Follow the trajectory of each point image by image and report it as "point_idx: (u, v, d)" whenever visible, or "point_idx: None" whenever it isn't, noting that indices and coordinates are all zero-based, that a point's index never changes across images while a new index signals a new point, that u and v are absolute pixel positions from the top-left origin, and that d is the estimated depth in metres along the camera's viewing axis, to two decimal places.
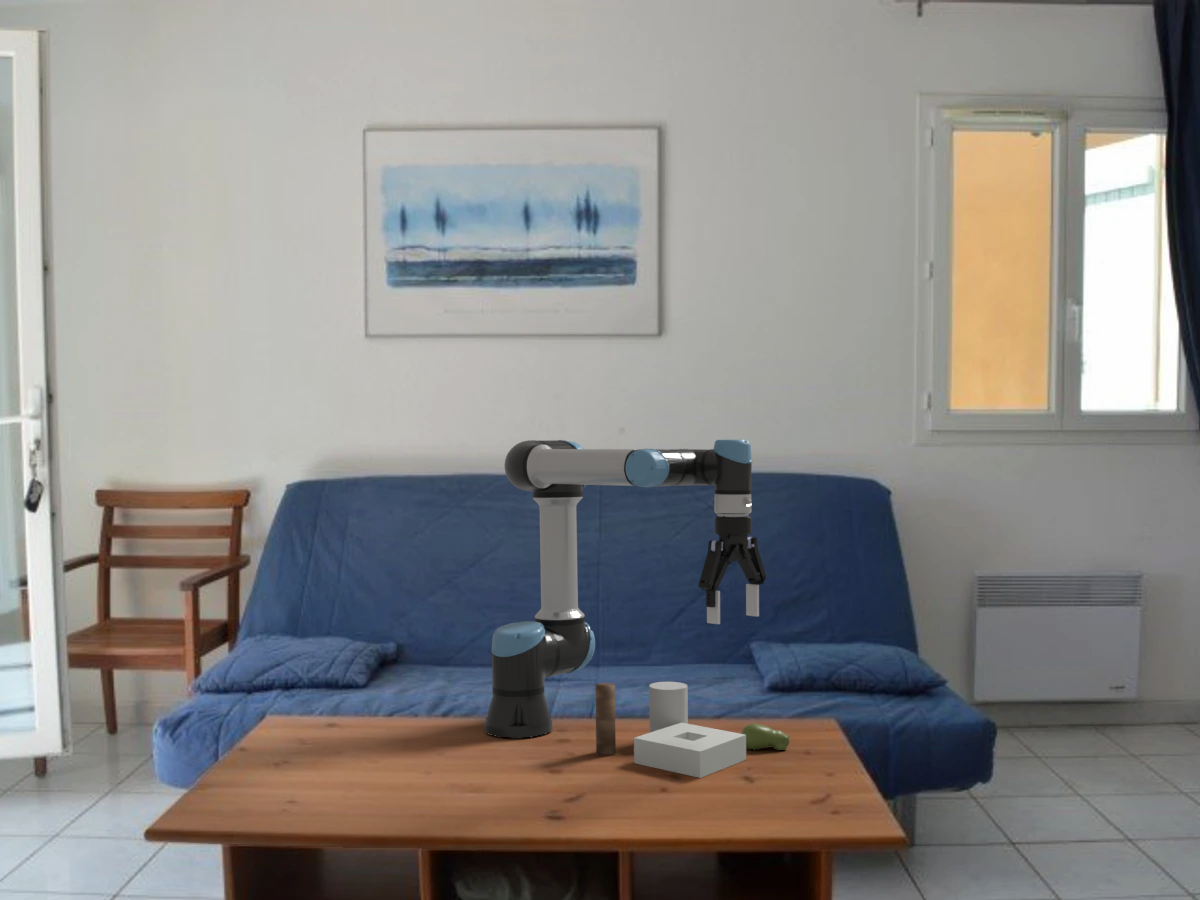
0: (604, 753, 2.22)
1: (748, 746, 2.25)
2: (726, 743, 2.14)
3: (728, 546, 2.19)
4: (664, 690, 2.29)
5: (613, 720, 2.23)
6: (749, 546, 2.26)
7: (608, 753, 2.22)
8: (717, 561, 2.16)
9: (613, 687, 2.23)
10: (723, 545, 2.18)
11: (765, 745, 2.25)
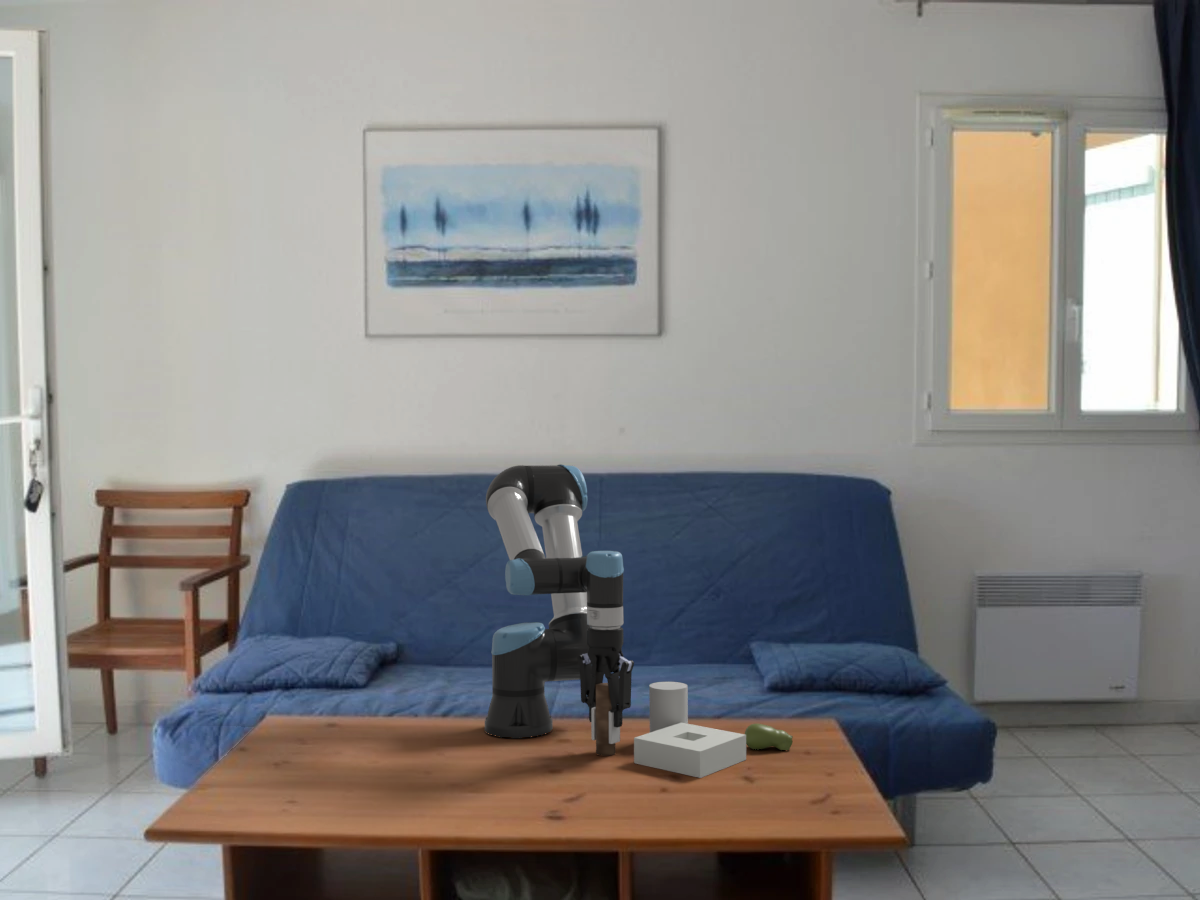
0: (604, 753, 2.22)
1: (751, 746, 2.25)
2: (726, 743, 2.14)
3: (590, 655, 2.26)
4: (664, 690, 2.29)
5: None
6: None
7: (608, 753, 2.22)
8: (582, 675, 2.27)
9: None
10: (588, 656, 2.27)
11: (768, 745, 2.25)
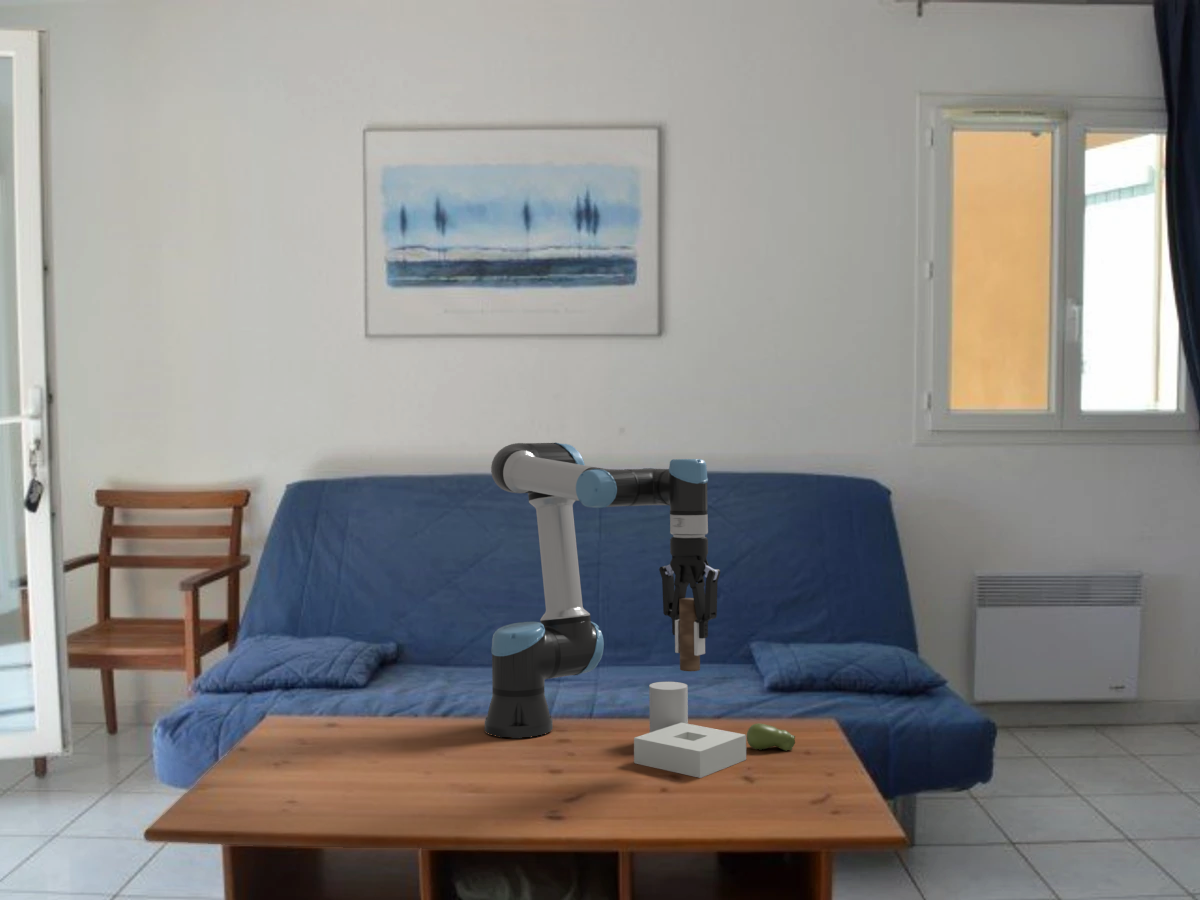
0: (689, 668, 2.16)
1: (754, 746, 2.25)
2: (726, 743, 2.14)
3: (673, 566, 2.19)
4: (664, 690, 2.29)
5: None
6: None
7: (693, 668, 2.16)
8: (665, 586, 2.20)
9: None
10: (671, 567, 2.20)
11: (771, 745, 2.25)
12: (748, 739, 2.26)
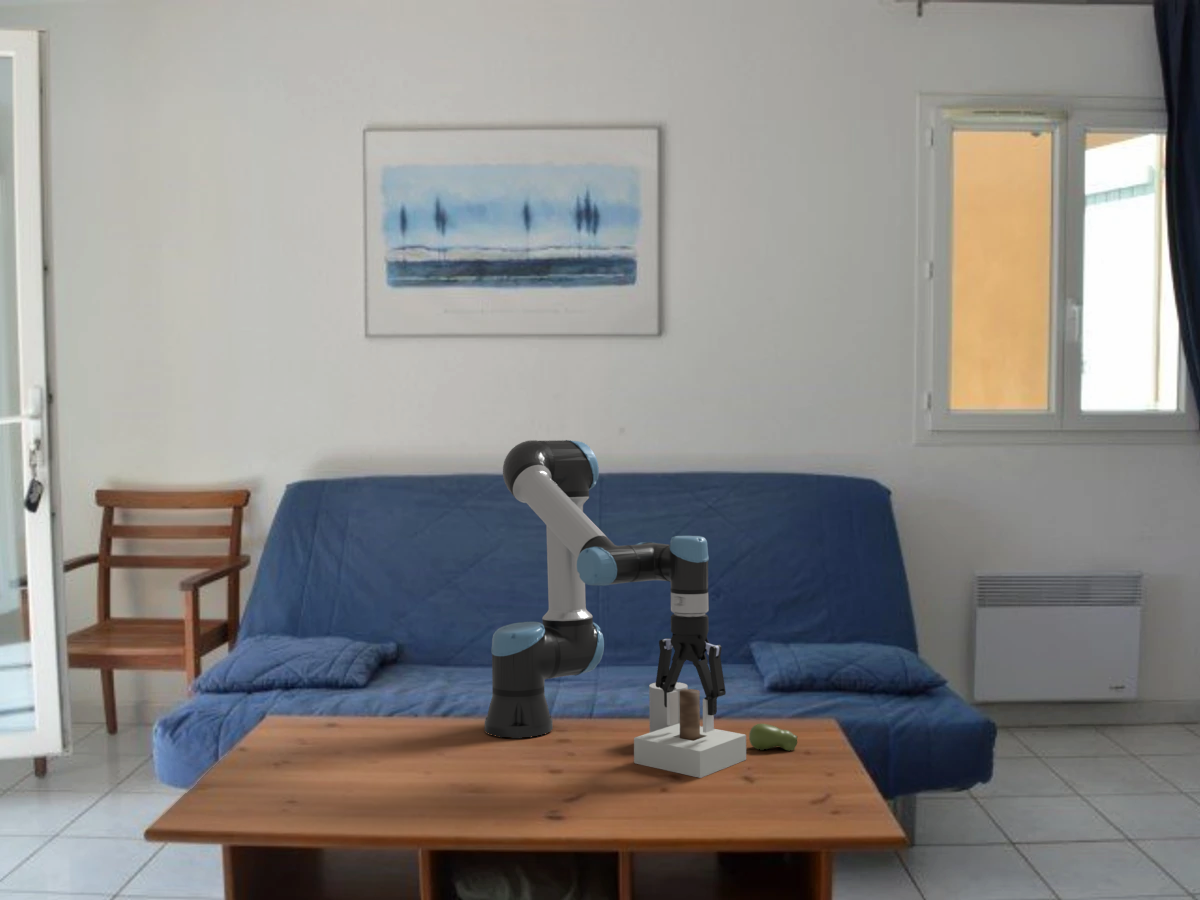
0: None
1: (756, 746, 2.25)
2: (726, 743, 2.14)
3: (674, 643, 2.19)
4: None
5: (698, 727, 2.17)
6: None
7: None
8: (661, 660, 2.21)
9: (698, 693, 2.17)
10: (671, 642, 2.20)
11: (773, 745, 2.25)
12: (750, 739, 2.26)
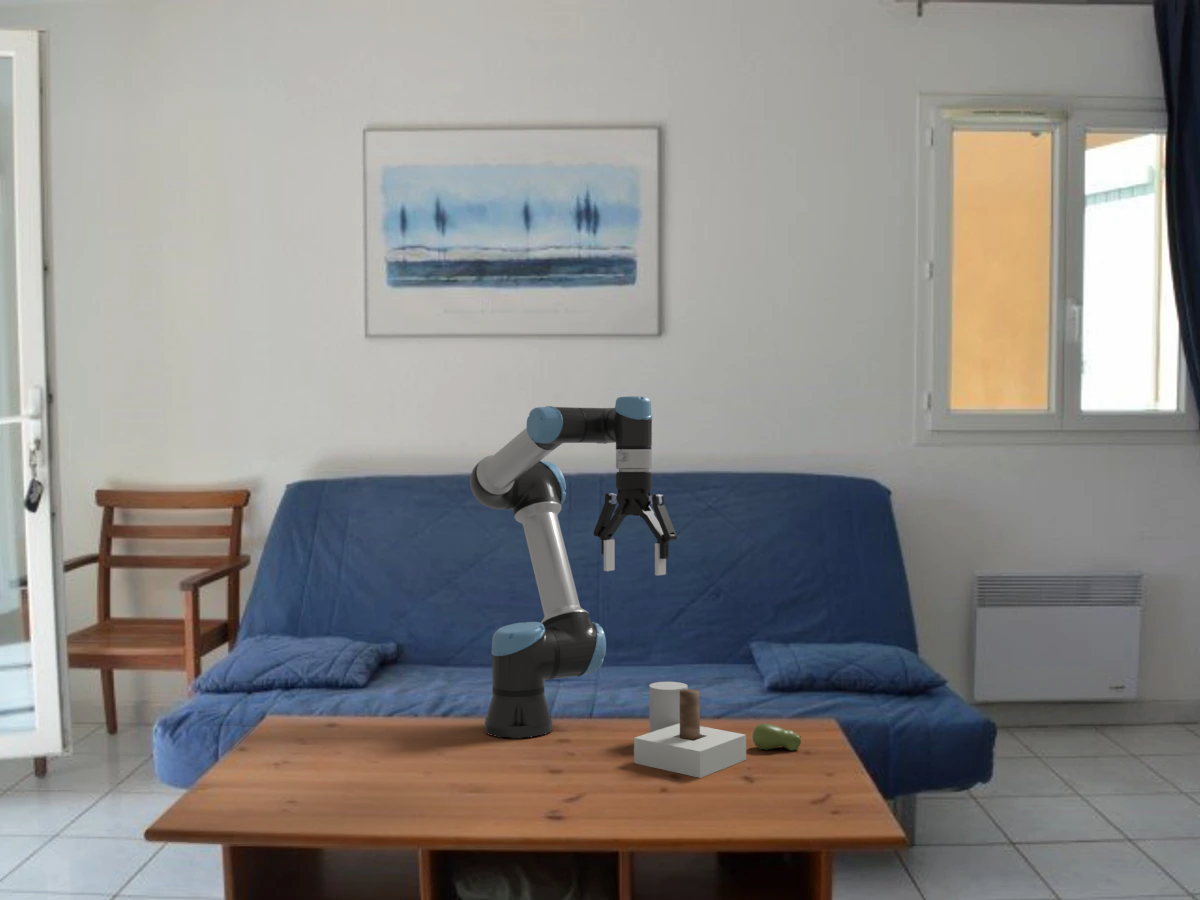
0: None
1: (760, 746, 2.25)
2: (726, 743, 2.14)
3: (618, 499, 2.28)
4: (664, 690, 2.29)
5: (698, 727, 2.17)
6: None
7: None
8: (604, 512, 2.31)
9: (698, 693, 2.17)
10: (616, 498, 2.30)
11: (777, 745, 2.25)
12: (754, 739, 2.26)
